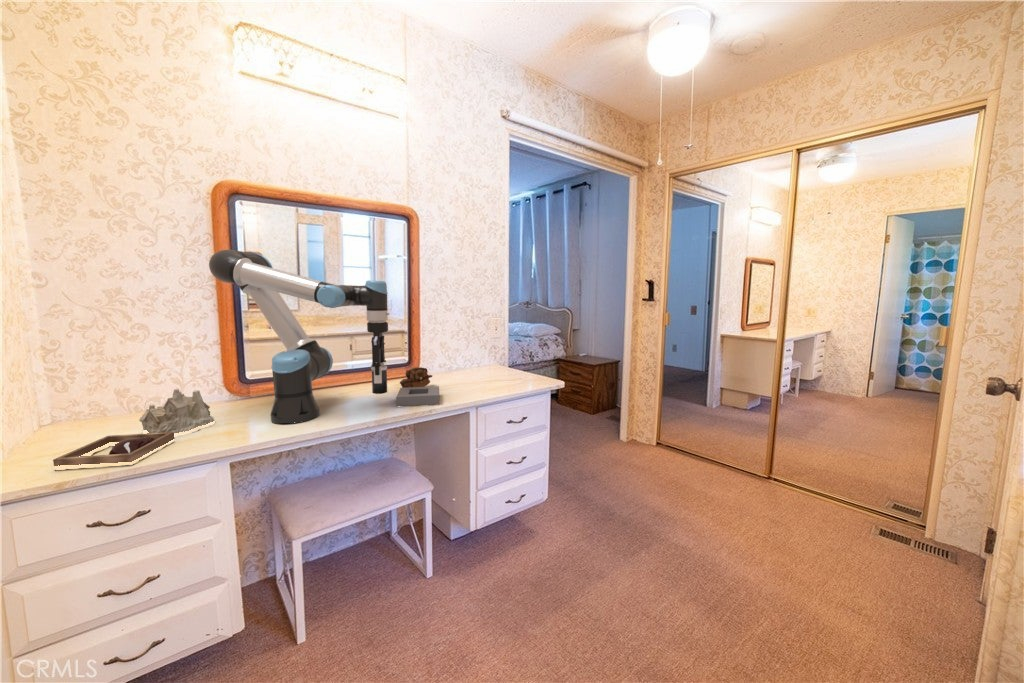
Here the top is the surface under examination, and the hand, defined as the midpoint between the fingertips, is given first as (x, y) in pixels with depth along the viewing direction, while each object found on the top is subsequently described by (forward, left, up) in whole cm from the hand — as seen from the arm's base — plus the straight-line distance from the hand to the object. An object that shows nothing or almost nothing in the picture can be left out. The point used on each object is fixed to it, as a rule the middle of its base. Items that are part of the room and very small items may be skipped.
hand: (379, 380), depth 149 cm
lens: (0, 0, -4) cm, 4 cm away
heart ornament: (-60, -34, -10) cm, 69 cm away
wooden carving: (+12, +23, -10) cm, 28 cm away
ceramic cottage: (-61, -15, -10) cm, 63 cm away
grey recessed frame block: (+14, +4, -10) cm, 18 cm away
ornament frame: (-64, -35, -10) cm, 73 cm away
